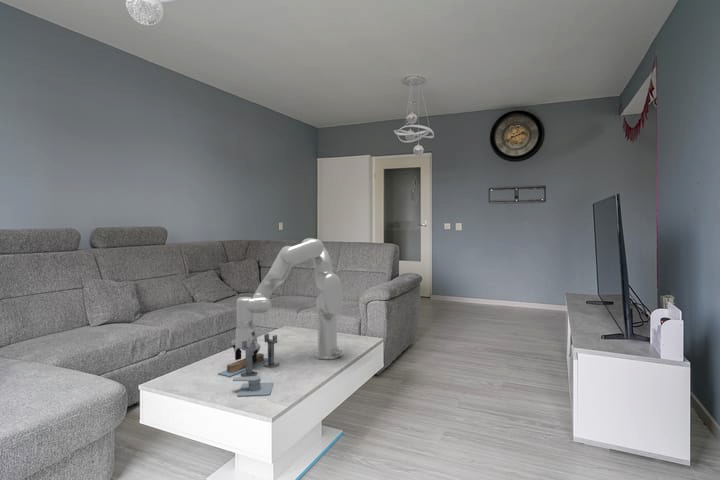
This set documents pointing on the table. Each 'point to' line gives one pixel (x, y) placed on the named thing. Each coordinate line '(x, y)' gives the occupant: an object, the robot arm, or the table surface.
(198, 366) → the table surface
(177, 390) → the table surface
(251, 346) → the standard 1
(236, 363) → the rail
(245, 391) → the shower valve
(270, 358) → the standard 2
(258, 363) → the mat
